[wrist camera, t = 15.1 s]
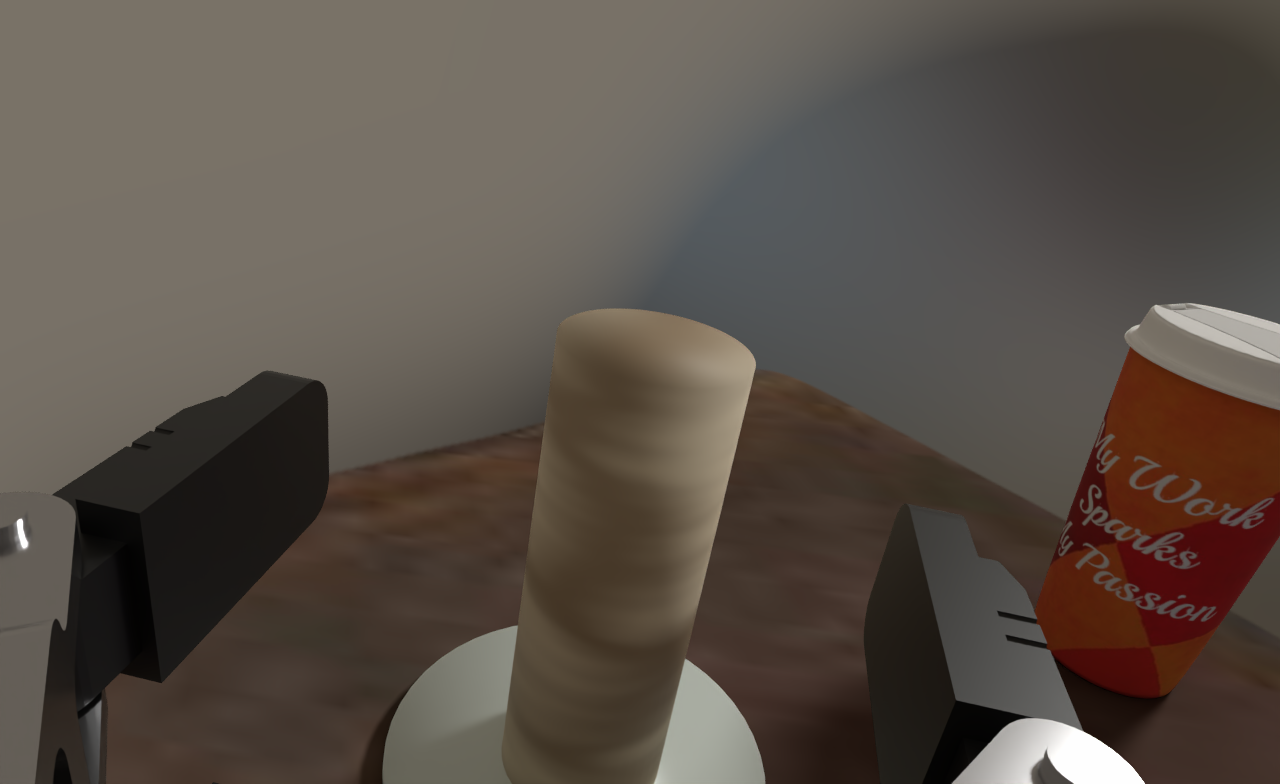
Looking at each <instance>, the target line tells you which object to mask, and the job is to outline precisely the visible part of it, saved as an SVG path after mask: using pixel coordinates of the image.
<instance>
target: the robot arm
mask: <svg viewBox="0 0 1280 784" xmlns="http://www.w3.org/2000/svg"><path fill="white" fill-rule="evenodd" d="M328 482H329V453H328V398H327V392H326V389H325V387H324V385H323V384H322V383H321V382H320V381H317V380H312V379H307V378H302V377H298V376H293V375H288V374H283V373H278V372H273V371H264V372H262V373H260V374H258V375H257V376H255V377H254V378H252V379H251V380H250V381H248V382H247V383H245V384H244V385H242V386H241V387H239V388H238V389H236V390H235V391H234V392H232V393H231V394H229V395H227V396H226V397H223V396H221V397H218V398H215V399H212V400H209V401H206V402H203V403H200V404H197V405H194V406H192V407H188V408H185V409H183V410H181V411H180V412H179V413H177V414H176V415H174V416H172V417H171V418H169V419H168V420H166V421H164V422H163V423H162V424H160V425H159V426H157V427H156V429H155V431H154V432H152V431H149V432H148V433H146V434H145V435H143V436H142V437H140V438H138V439H137V440H135V441H134V442H133V443H132V446H131V447H125V448H123V449H122V450H120V451H118V452H117V453H116V454H114V455H112V456H111V457H109V458H108V459H106V460H105V461H103V462H102V463H100V464H99V465H97V466H95V467H94V468H93V469H91V470H89V471H88V472H86V473H85V474H83V475H82V476H80V477H79V478H77V479H76V480H74V481H72V482H71V483H70V484H68V485H66V486H65V487H63V488H62V489H60V490H59V491H57V492H56V493H54V494H53V495H49V494H43V493H36V492H10V493H0V784H106V757H107V718H108V706H107V699H106V693H105V687H106V686H107V685H108V684H109V683H110V682H111V681H112V680H113V679H114V678H115V677H116V676H117V675H118V674H119V673H122V674H126V675H130V676H134V677H139V678H143V679H147V680H151V681H155V682H159V683H162V682H163V681H164V680H165V679H166V678H167V677H168V676H169V675H170V674H171V673H172V671H173V670H174V669H175V668H176V667H177V666H178V665H179V664H180V663H181V662H182V661H183V660H184V659H185V658H186V657H187V655H188V654H189V653H190V652H191V651H192V650H193V649H194V648H195V647H196V646H197V645H198V644H199V643H200V642H201V641H202V639H203V638H204V637H205V636H206V635H207V634H208V633H209V632H210V631H211V630H212V629H213V628H214V627H215V626H216V625H217V624H218V622H219V621H220V620H221V619H222V618H223V617H224V616H225V615H226V614H227V613H228V612H229V611H230V610H231V609H232V608H233V606H234V605H235V604H236V603H237V602H238V601H239V600H240V599H241V598H242V597H243V596H244V595H245V594H246V593H247V592H248V590H249V589H250V588H251V587H252V586H253V585H254V584H255V583H256V582H257V581H258V580H259V579H260V578H261V577H262V576H263V574H264V573H265V572H266V571H267V570H268V569H269V568H270V567H271V566H272V565H273V564H274V563H275V562H276V561H277V560H278V558H279V557H280V556H281V555H282V554H283V553H284V552H285V551H286V550H287V549H288V548H289V547H290V546H291V545H292V544H293V543H294V541H295V540H296V539H297V538H298V537H299V536H300V535H301V534H302V533H303V532H304V531H305V530H306V529H307V528H308V527H309V525H310V524H311V523H312V522H313V521H314V520H315V518H316V517H317V515H318V514H319V512H320V510H321V508H322V506H323V503H324V500H325V497H326V494H327V489H328ZM864 649H865V657H866V666H867V674H868V683H869V691H870V700H871V708H872V717H873V725H874V734H875V742H876V751H877V759H878V768H879V776H880V784H1144V782H1143V781H1142V779H1141V778H1140V777H1139V776H1138V774H1137V773H1136V772H1135V771H1134V769H1133V768H1132V767H1131V766H1130V765H1129V764H1128V763H1127V762H1126V761H1125V760H1124V759H1123V758H1122V757H1120V756H1119V755H1118V754H1117V753H1116V752H1114V751H1113V750H1112V749H1111V748H1109V747H1108V746H1106V745H1105V744H1104V743H1102V742H1101V741H1099V740H1097V739H1096V738H1094V737H1092V736H1091V735H1089V734H1087V733H1085V732H1083V730H1082V727H1081V725H1080V722H1079V720H1078V717H1077V715H1076V712H1075V710H1074V708H1073V705H1072V703H1071V700H1070V698H1069V695H1068V693H1067V690H1066V688H1065V686H1064V683H1063V681H1062V678H1061V676H1060V673H1059V671H1058V668H1057V666H1056V664H1055V661H1054V659H1053V656H1052V654H1051V651H1050V650H1047V641H1046V639H1045V637H1044V634H1043V632H1042V629H1041V627H1040V625H1037V617H1036V615H1035V612H1034V610H1033V607H1032V605H1031V602H1030V600H1029V597H1028V595H1027V593H1026V590H1025V589H1024V588H1023V587H1022V586H1021V585H1020V584H1019V583H1018V582H1017V580H1016V579H1015V578H1014V577H1013V576H1012V575H1011V574H1010V573H1009V572H1008V571H1007V570H1006V569H1005V568H1004V567H1003V566H1002V564H1001V563H1000V562H999V561H994V560H989V559H985V558H980V557H978V555H977V552H976V549H975V546H974V543H973V540H972V537H971V535H970V532H969V529H968V526H967V523H966V520H965V518H964V517H963V516H962V515H958V514H953V513H948V512H943V511H938V510H934V509H929V508H924V507H919V506H914V505H909V504H904V505H903V506H902V507H901V508H900V510H899V512H898V514H897V516H896V519H895V522H894V525H893V528H892V531H891V534H890V537H889V540H888V543H887V546H886V549H885V552H884V555H883V558H882V562H881V565H880V568H879V571H878V574H877V577H876V580H875V583H874V586H873V589H872V592H871V595H870V599H869V603H868V607H867V612H866V618H865V627H864ZM212 784H218V783H214V782H213V783H212Z"/></svg>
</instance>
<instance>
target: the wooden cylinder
mask: <svg viewBox="0 0 1280 784" xmlns="http://www.w3.org/2000/svg"><path fill="white" fill-rule="evenodd" d="M755 367H756V363H755V359H754V357H753V355H752V354H751V352H750V351H749V350H748V349H747V348H746V347H745V346H744V345H742V344H741V343H740V342H739V341H737V340H736V339H734V338H733V337H731V336H729V335H727V334H725V333H724V332H722V331H719V330H717V329H715V328H712V327H710V326H707V325H705V324H702V323H699V322H696V321H693V320H689V319H686V318H682V317H678V316H674V315H670V314H665V313H659V312H653V311H646V310H636V309H599V310H591V311H586V312H582V313H578V314H575V315H573V316H571V317H568V318H567V319H565V320H564V321H563V322H562V323H561V324H560V325H559V327H558V330H557V337H556V345H555V351H554V359H553V366H552V374H551V381H550V389H549V397H548V404H547V412H546V419H545V426H544V434H543V441H542V449H541V456H540V464H539V471H538V479H537V486H536V494H535V501H534V509H533V516H532V524H531V531H530V539H529V546H528V554H527V561H526V569H525V576H524V584H523V591H522V599H521V606H520V614H519V621H518V629H517V636H516V644H515V651H514V659H513V666H512V674H511V681H510V689H509V696H508V704H507V711H506V719H505V726H504V734H503V741H502V761H503V766H504V769H505V771H506V774H507V776H508V778H509V780H510V782H511V783H512V784H654V782H655V780H656V777H657V773H658V769H659V765H660V761H661V756H662V752H663V748H664V744H665V740H666V736H667V732H668V727H669V723H670V719H671V715H672V711H673V707H674V703H675V699H676V694H677V690H678V686H679V682H680V678H681V674H682V670H683V665H684V661H685V657H686V653H687V649H688V645H689V641H690V636H691V632H692V628H693V624H694V620H695V616H696V612H697V607H698V603H699V599H700V595H701V591H702V587H703V583H704V578H705V574H706V570H707V566H708V562H709V558H710V554H711V549H712V545H713V541H714V537H715V533H716V529H717V525H718V521H719V516H720V512H721V508H722V504H723V500H724V496H725V492H726V487H727V483H728V479H729V475H730V471H731V467H732V463H733V458H734V454H735V450H736V446H737V442H738V438H739V434H740V429H741V425H742V421H743V417H744V413H745V409H746V405H747V400H748V396H749V392H750V388H751V384H752V380H753V376H754V371H755Z"/></svg>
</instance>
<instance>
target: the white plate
mask: <svg viewBox="0 0 1280 784" xmlns="http://www.w3.org/2000/svg"><path fill="white" fill-rule="evenodd" d="M517 629H518V626H512V627H509V628H505V629H501V630H497V631H494V632H491V633H488V634H486V635H483V636H480V637H478V638H475V639H473V640H471V641H469V642H467V643H465V644H463V645H461V646H459V647H457V648H456V649H454V650H453V651H451V652H449V653H448V654H446V655H445V656H443V657H442V658H440V659H439V660H438V661H437V662H436V663H434V664H433V665H432V666H431V667H430V668H429V669H427V670H426V671H425V672H424V673H423V674H422V675H421V676H420V678H419V679H418V680H417V681H416V682H415V683H414V684H413V685H412V686H411V688H410V689H409V691H408V692H407V694H406V695H405V697H404V698H403V700H402V701H401V703H400V705H399V707H398V709H397V711H396V713H395V715H394V717H393V719H392V721H391V725H390V728H389V732H388V735H387V738H386V742H385V750H384V758H383V770H382V784H512V783H511V782H510V780H509V778H508V776H507V774H506V771H505V769H504V766H503V761H502V741H503V734H504V726H505V719H506V711H507V704H508V696H509V689H510V681H511V674H512V666H513V659H514V651H515V644H516V636H517ZM654 784H765V774H764V770H763V765H762V760H761V755H760V753H759V750H758V747H757V744H756V741H755V739H754V736H753V734H752V732H751V730H750V729H749V727H748V725H747V723H746V721H745V719H744V717H743V716H742V715H741V713H740V712H739V710H738V709H737V707H736V706H735V704H734V703H733V702H732V700H731V699H730V698H729V697H728V696H727V695H726V693H725V692H724V691H723V690H722V689H721V688H720V687H719V686H718V685H717V684H716V683H715V682H714V681H713V680H712V679H711V678H710V677H709V676H708V675H706V674H705V673H704V672H703V671H701V670H700V669H699V668H697V667H696V666H695V665H694V664H692V663H691V662H690V661H688V660H686V659H685V661H684V665H683V670H682V674H681V678H680V682H679V686H678V690H677V694H676V699H675V703H674V707H673V711H672V715H671V719H670V723H669V727H668V732H667V736H666V740H665V744H664V748H663V752H662V756H661V761H660V765H659V769H658V773H657V777H656V780H655V782H654Z"/></svg>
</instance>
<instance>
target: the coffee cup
mask: <svg viewBox="0 0 1280 784" xmlns="http://www.w3.org/2000/svg"><path fill="white" fill-rule="evenodd" d="M1124 336H1125V340H1126V342H1127V344H1128V345H1129V346H1130V349H1129V352H1128V354H1127V357H1126V360H1125V363H1124V365H1123V368H1122V371H1121V374H1120V376H1119V379H1118V381H1117V384H1116V387H1115V390H1114V392H1113V395H1112V398H1111V400H1110V403H1109V406H1108V409H1107V412H1106V414H1105V417H1104V419H1103V422H1102V425H1101V428H1100V430H1099V433H1098V436H1097V439H1096V441H1095V444H1094V447H1093V449H1092V452H1091V455H1090V458H1089V460H1088V463H1087V466H1086V468H1085V471H1084V474H1083V476H1082V479H1081V482H1080V485H1079V487H1078V490H1077V493H1076V496H1075V498H1074V501H1073V504H1072V506H1071V509H1070V512H1069V515H1068V517H1067V520H1066V523H1065V526H1064V528H1063V531H1062V534H1061V537H1060V539H1059V542H1058V545H1057V548H1056V551H1055V553H1054V556H1053V559H1052V562H1051V565H1050V567H1049V570H1048V573H1047V576H1046V579H1045V582H1044V584H1043V587H1042V590H1041V593H1040V596H1039V599H1038V602H1037V606H1036V609H1035V615H1036V617H1037V625H1040V627H1041V629H1042V632H1043V634H1044V637H1045V639H1046V641H1047V650H1050V651H1051V654H1052V656H1053V657H1054V658H1055V659H1056V660H1057V661H1058V662H1060V663H1061V664H1062V665H1063V666H1065V667H1066V668H1067V669H1069V670H1070V671H1072V672H1073V673H1075V674H1076V675H1078V676H1080V677H1081V678H1083V679H1085V680H1087V681H1089V682H1090V683H1093V684H1095V685H1097V686H1099V687H1101V688H1104V689H1106V690H1109V691H1112V692H1114V693H1118V694H1121V695H1125V696H1129V697H1135V698H1145V699H1151V698H1158V697H1162V696H1165V695H1167V694H1168V693H1169V692H1170V691H1171V690H1172V689H1173V688H1174V687H1175V686H1176V685H1177V684H1178V682H1179V681H1180V680H1181V678H1182V677H1183V676H1184V675H1185V673H1186V672H1187V670H1188V669H1189V668H1190V666H1191V665H1192V663H1193V662H1194V661H1195V659H1196V658H1197V656H1198V655H1199V654H1200V652H1201V651H1202V649H1203V648H1204V646H1205V645H1206V644H1207V642H1208V641H1209V639H1210V638H1211V636H1212V635H1213V633H1214V632H1215V631H1216V629H1217V628H1218V626H1219V625H1220V623H1221V622H1222V620H1223V619H1224V617H1225V616H1226V615H1227V613H1228V612H1229V610H1230V609H1231V607H1232V606H1233V604H1234V603H1235V601H1236V600H1237V598H1238V597H1239V595H1240V594H1241V592H1242V591H1243V590H1244V588H1245V587H1246V585H1247V584H1248V582H1249V581H1250V579H1251V578H1252V576H1253V575H1254V573H1255V572H1256V570H1257V569H1258V567H1259V566H1260V565H1261V563H1262V562H1263V560H1264V559H1265V557H1266V556H1267V554H1268V553H1269V551H1270V550H1271V548H1272V547H1273V545H1274V544H1275V542H1276V541H1277V539H1278V538H1279V536H1280V324H1277V323H1273V322H1270V321H1267V320H1263V319H1260V318H1256V317H1252V316H1249V315H1245V314H1241V313H1237V312H1233V311H1229V310H1224V309H1220V308H1214V307H1210V306H1204V305H1198V304H1191V303H1185V304H1169V305H1160V306H1158V305H1155V306H1153V307H1152V308H1151V309H1150V310H1149V312H1148V313H1147V315H1146V316H1145V318H1144V320H1143V321H1142V323H1141V324H1140V325H1136V326H1134V327H1132V328H1131V329H1130V330H1128V331H1127V332H1126V334H1125V335H1124Z"/></svg>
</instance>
